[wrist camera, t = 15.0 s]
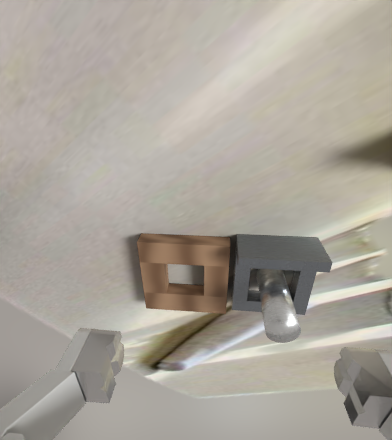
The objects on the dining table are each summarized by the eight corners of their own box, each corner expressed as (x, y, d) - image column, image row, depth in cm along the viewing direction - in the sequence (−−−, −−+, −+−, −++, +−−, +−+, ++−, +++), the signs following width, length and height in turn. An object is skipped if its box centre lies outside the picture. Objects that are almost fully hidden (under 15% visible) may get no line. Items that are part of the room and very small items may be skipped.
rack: (231, 298, 47) (232, 327, 41) (236, 234, 40) (238, 258, 35) (300, 303, 46) (310, 332, 40) (317, 237, 39) (332, 262, 34)
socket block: (149, 297, 48) (146, 308, 46) (141, 233, 42) (136, 242, 39) (225, 302, 47) (225, 313, 45) (229, 237, 40) (230, 246, 38)
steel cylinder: (255, 284, 44) (263, 341, 35) (257, 263, 42) (267, 318, 33) (281, 285, 44) (297, 343, 34) (285, 264, 42) (303, 320, 32)
